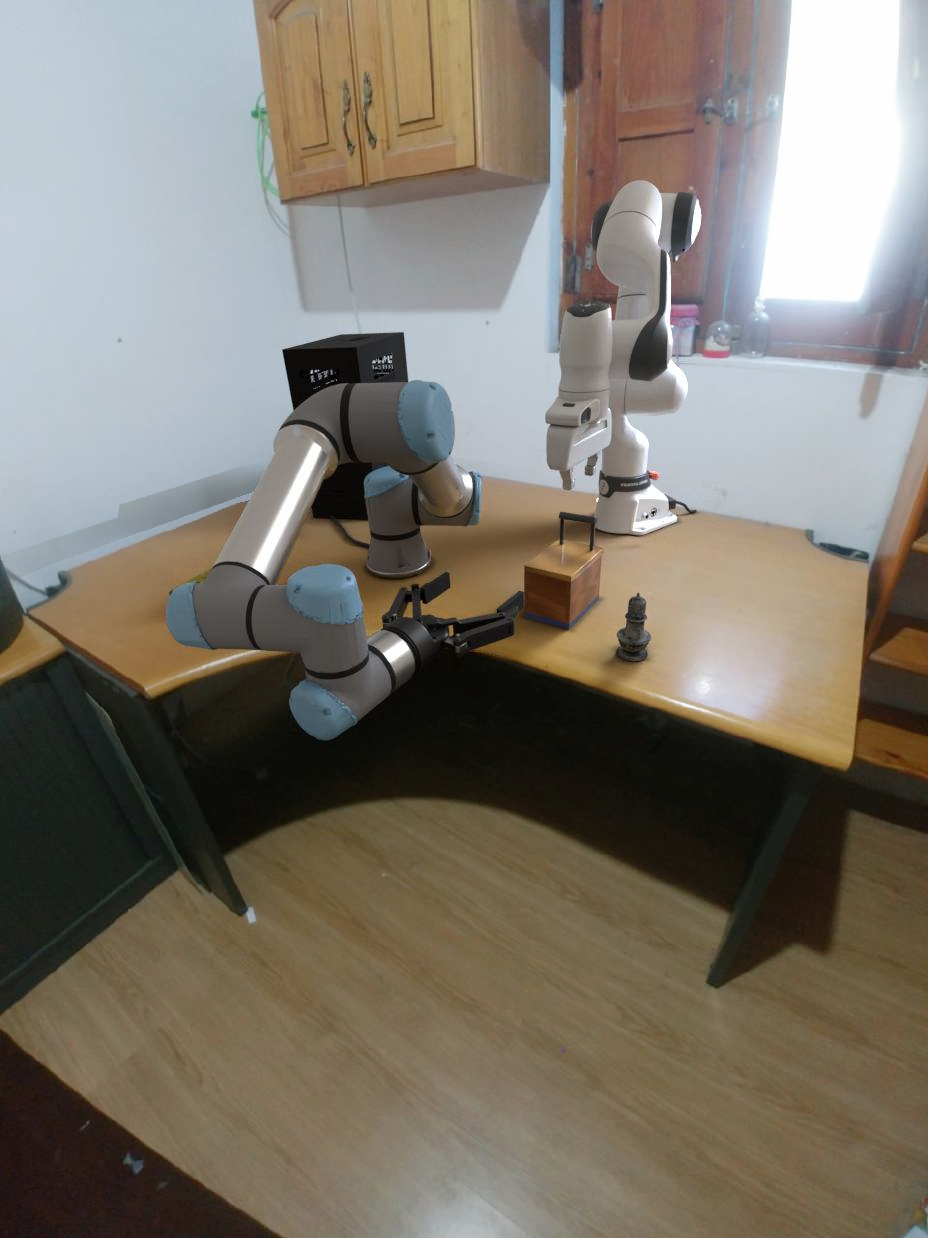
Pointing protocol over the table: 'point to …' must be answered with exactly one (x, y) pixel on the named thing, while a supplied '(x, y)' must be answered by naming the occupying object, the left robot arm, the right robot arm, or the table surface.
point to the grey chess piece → (634, 631)
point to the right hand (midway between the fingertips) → (579, 481)
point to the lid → (566, 553)
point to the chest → (561, 596)
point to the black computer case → (351, 366)
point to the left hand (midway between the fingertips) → (483, 588)
